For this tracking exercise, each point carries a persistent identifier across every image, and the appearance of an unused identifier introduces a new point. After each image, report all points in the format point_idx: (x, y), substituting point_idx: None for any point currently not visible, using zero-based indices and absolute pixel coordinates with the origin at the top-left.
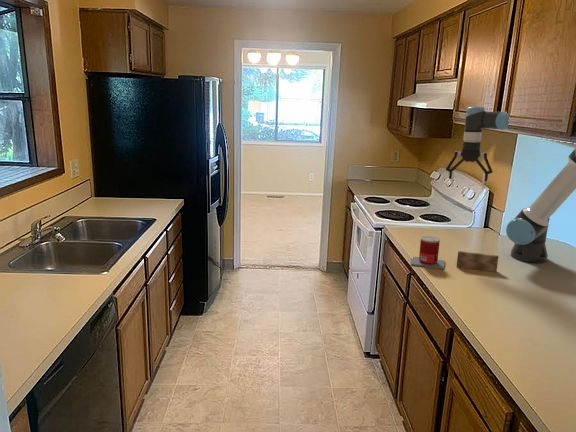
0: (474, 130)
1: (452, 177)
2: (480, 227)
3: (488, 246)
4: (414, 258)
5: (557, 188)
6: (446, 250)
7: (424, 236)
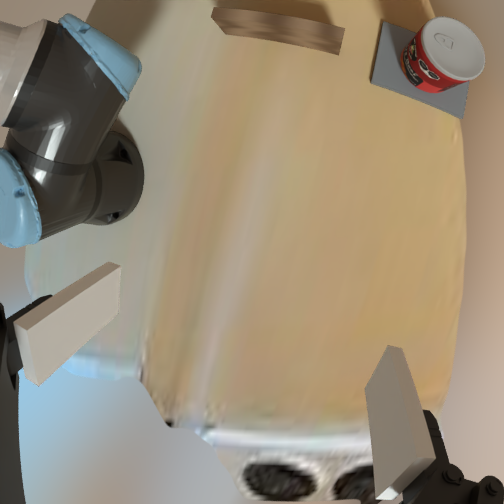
0: None
1: (413, 409)
2: (179, 424)
3: (186, 267)
4: (461, 100)
5: None
6: (339, 207)
7: (474, 75)
